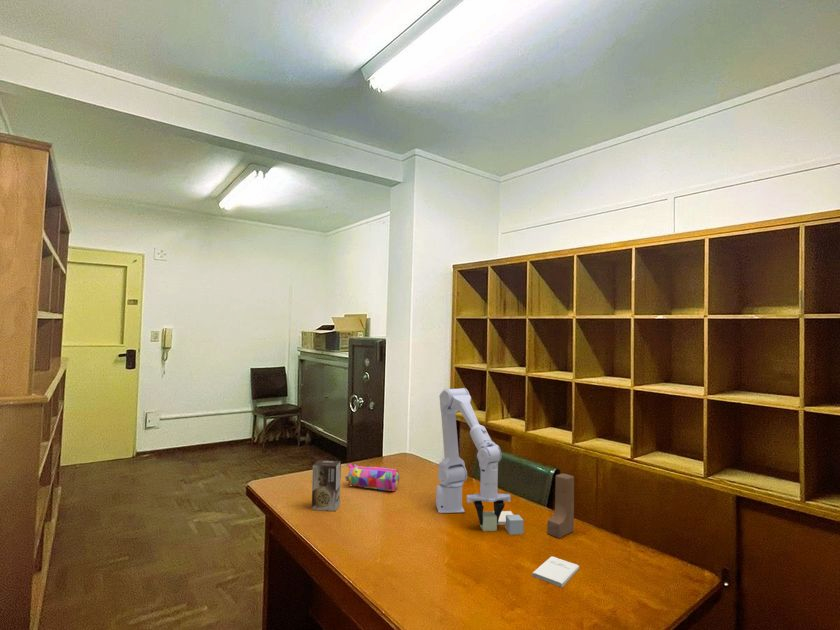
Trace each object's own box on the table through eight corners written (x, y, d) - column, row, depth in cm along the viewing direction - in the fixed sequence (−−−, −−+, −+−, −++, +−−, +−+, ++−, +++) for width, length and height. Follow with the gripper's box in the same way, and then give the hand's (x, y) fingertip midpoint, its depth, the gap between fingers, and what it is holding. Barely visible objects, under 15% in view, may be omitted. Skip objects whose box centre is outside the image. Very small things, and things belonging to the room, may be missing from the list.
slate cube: (509, 534, 145) (510, 520, 145) (505, 528, 149) (505, 515, 149) (523, 534, 145) (523, 520, 145) (518, 528, 150) (518, 514, 150)
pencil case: (343, 488, 184) (344, 466, 185) (353, 481, 193) (353, 460, 194) (393, 495, 178) (393, 472, 179) (400, 487, 187) (401, 465, 188)
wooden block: (559, 538, 142) (559, 481, 143) (546, 533, 146) (547, 477, 146) (574, 531, 148) (574, 476, 149) (562, 526, 151) (562, 472, 152)
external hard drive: (532, 578, 119) (550, 561, 129) (562, 589, 114) (579, 570, 124) (532, 572, 119) (550, 555, 129) (562, 583, 114) (579, 564, 124)
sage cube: (483, 531, 147) (483, 517, 147) (479, 525, 151) (480, 511, 151) (496, 530, 147) (496, 516, 147) (492, 525, 152) (493, 511, 152)
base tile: (493, 526, 152) (493, 521, 152) (486, 515, 161) (486, 511, 161) (518, 525, 153) (519, 521, 153) (510, 515, 162) (510, 511, 162)
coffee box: (340, 505, 166) (341, 460, 167) (335, 511, 160) (337, 465, 161) (316, 503, 167) (318, 459, 168) (310, 510, 161) (312, 464, 161)
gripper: (470, 486, 145) (469, 529, 144) (513, 485, 147) (513, 528, 146) (465, 479, 152) (464, 520, 151) (507, 478, 154) (506, 519, 153)
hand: (488, 523), depth 149 cm, fingers closed on sage cube, 4 cm apart
